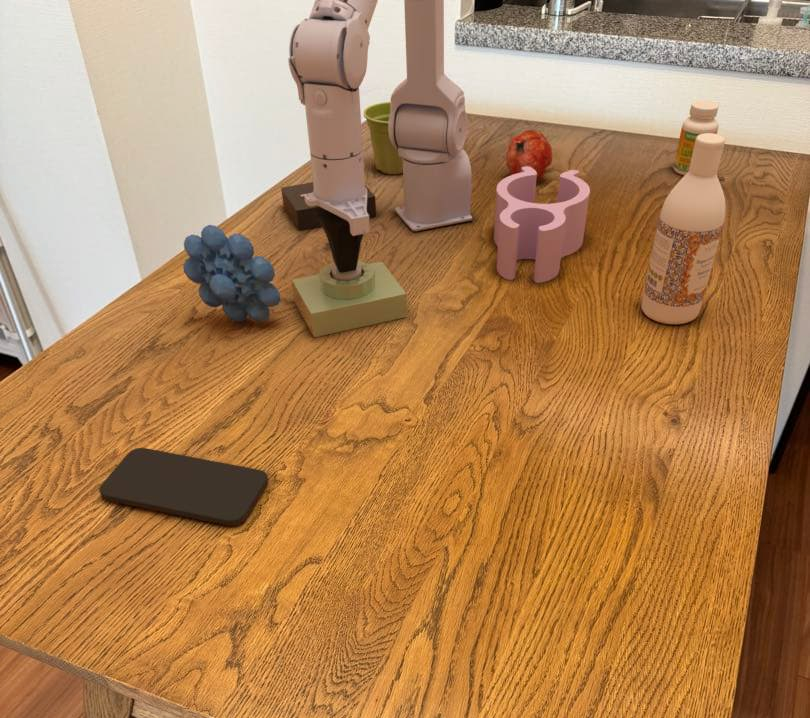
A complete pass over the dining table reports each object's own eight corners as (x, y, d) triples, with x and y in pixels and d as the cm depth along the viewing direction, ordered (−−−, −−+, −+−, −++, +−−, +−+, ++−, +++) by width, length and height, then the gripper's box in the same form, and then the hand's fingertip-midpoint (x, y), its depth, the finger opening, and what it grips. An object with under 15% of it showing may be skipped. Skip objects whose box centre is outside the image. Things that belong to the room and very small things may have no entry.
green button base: (383, 284, 102) (381, 247, 99) (407, 317, 96) (406, 279, 93) (294, 302, 100) (289, 265, 96) (314, 337, 94) (309, 299, 90)
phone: (238, 523, 70) (93, 493, 74) (240, 530, 71) (96, 499, 74) (271, 471, 75) (134, 445, 78) (272, 477, 76) (136, 451, 79)
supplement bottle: (671, 175, 124) (685, 109, 117) (673, 163, 128) (687, 97, 121) (706, 178, 123) (723, 111, 116) (708, 165, 127) (724, 99, 120)
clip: (571, 286, 101) (578, 233, 96) (476, 276, 103) (478, 224, 98) (588, 220, 114) (595, 171, 109) (504, 213, 116) (507, 164, 111)
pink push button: (357, 275, 97) (356, 259, 96) (366, 288, 95) (365, 272, 93) (329, 280, 96) (328, 265, 95) (338, 294, 94) (336, 278, 92)
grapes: (182, 335, 95) (156, 239, 86) (203, 307, 99) (181, 213, 91) (272, 344, 93) (256, 247, 84) (290, 315, 97) (276, 220, 89)
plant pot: (425, 157, 133) (424, 101, 126) (420, 179, 126) (419, 121, 120) (370, 157, 133) (367, 101, 127) (363, 179, 127) (359, 121, 121)
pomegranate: (518, 181, 130) (484, 155, 122) (545, 139, 127) (512, 110, 120) (546, 200, 126) (513, 175, 119) (574, 158, 123) (542, 129, 116)
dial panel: (357, 194, 123) (356, 173, 120) (376, 216, 117) (375, 195, 115) (283, 207, 120) (280, 186, 118) (299, 231, 114) (296, 209, 112)
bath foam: (670, 332, 92) (714, 155, 78) (628, 308, 96) (662, 135, 82) (711, 314, 95) (760, 139, 80) (668, 292, 99) (707, 121, 85)
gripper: (283, 134, 88) (298, 249, 98) (319, 180, 79) (332, 303, 88) (343, 125, 90) (352, 239, 99) (385, 169, 80) (390, 291, 90)
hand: (346, 269), depth 94 cm, fingers closed, pressing on pink push button
